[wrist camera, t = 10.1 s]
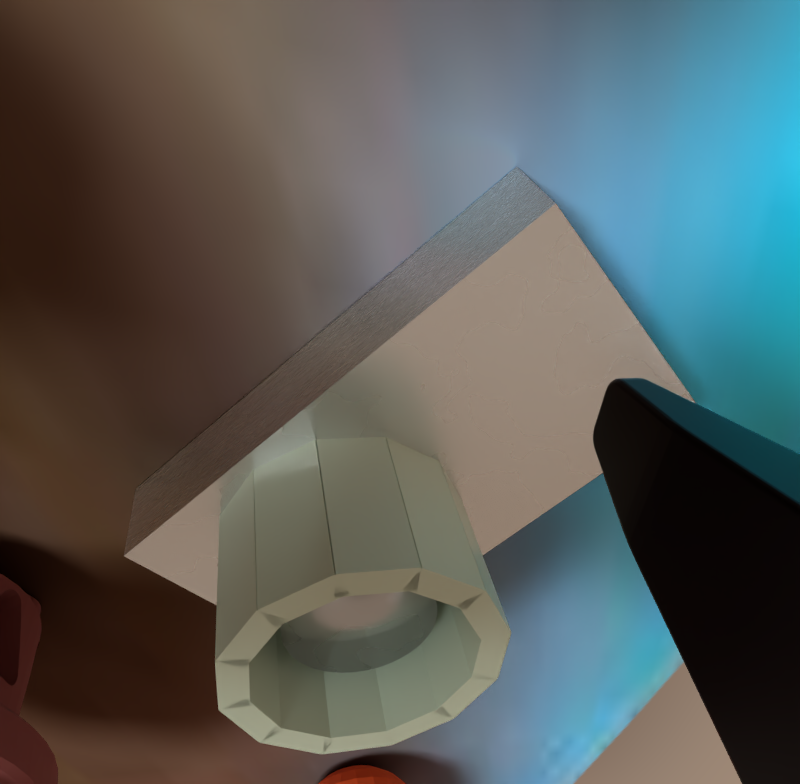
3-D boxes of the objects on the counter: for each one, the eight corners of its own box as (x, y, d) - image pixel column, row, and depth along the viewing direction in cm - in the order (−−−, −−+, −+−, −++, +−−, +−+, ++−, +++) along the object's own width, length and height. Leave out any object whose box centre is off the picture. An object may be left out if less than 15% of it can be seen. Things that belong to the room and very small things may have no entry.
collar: (225, 619, 24) (222, 767, 20) (215, 442, 19) (209, 583, 15) (442, 601, 25) (481, 733, 21) (476, 433, 21) (533, 559, 17)
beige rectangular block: (135, 489, 24) (106, 656, 18) (516, 166, 20) (617, 262, 14) (318, 598, 28) (336, 756, 23) (653, 357, 25) (765, 480, 19)
